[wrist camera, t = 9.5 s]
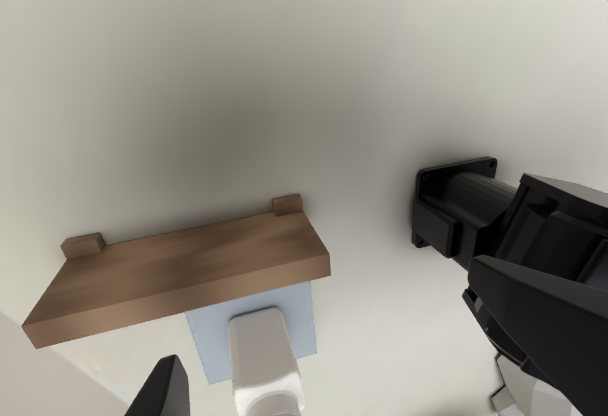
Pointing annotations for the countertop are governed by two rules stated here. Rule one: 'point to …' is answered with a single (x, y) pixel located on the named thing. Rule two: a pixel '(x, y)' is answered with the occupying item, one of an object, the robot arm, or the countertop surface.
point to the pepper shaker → (264, 366)
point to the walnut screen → (175, 272)
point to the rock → (528, 395)
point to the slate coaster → (215, 318)
